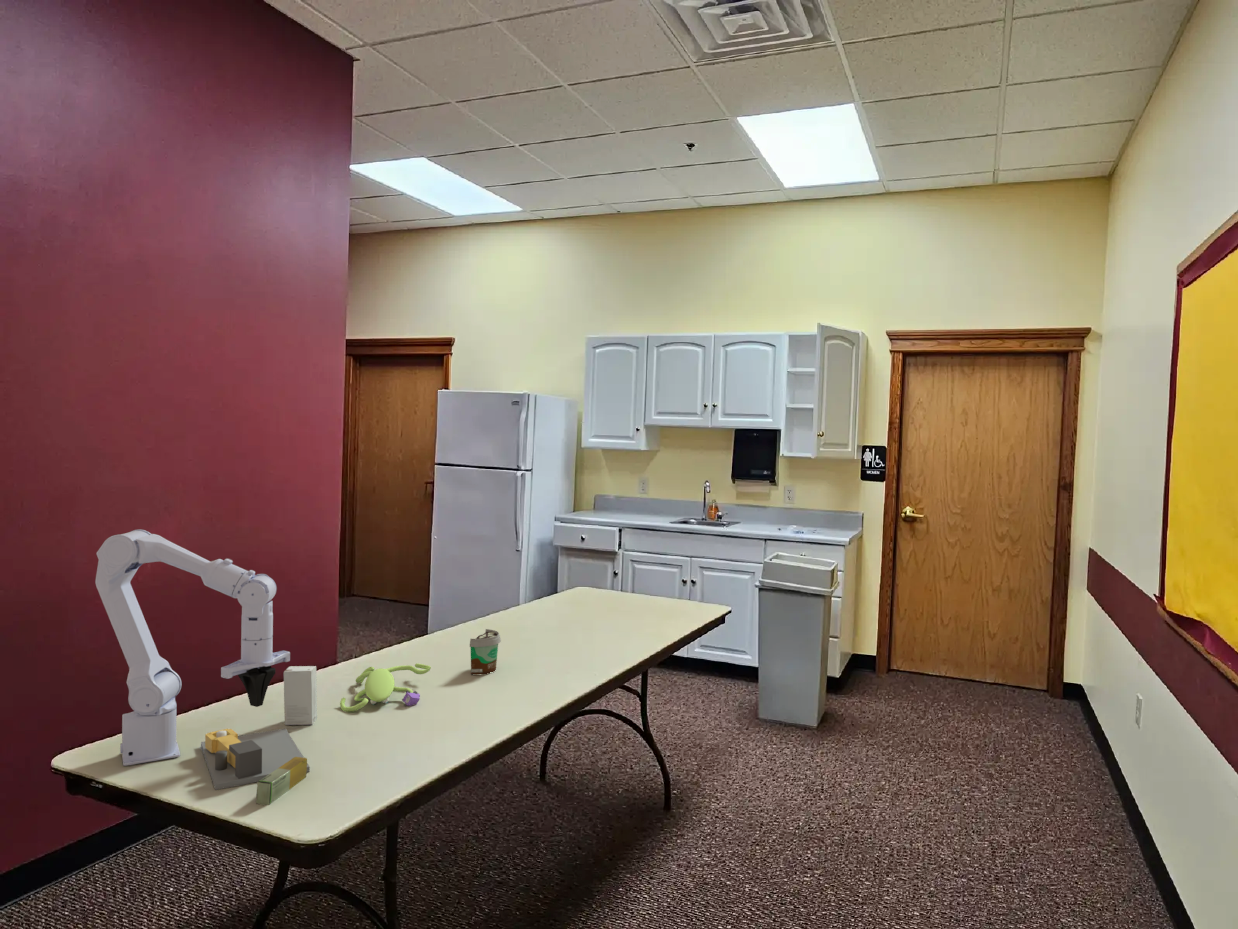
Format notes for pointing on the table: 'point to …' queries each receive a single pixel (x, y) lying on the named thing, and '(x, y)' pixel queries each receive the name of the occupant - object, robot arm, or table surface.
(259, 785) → the medication box
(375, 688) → the figurine
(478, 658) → the food container
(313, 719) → the skincare box
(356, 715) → the table surface
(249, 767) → the base
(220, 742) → the link
